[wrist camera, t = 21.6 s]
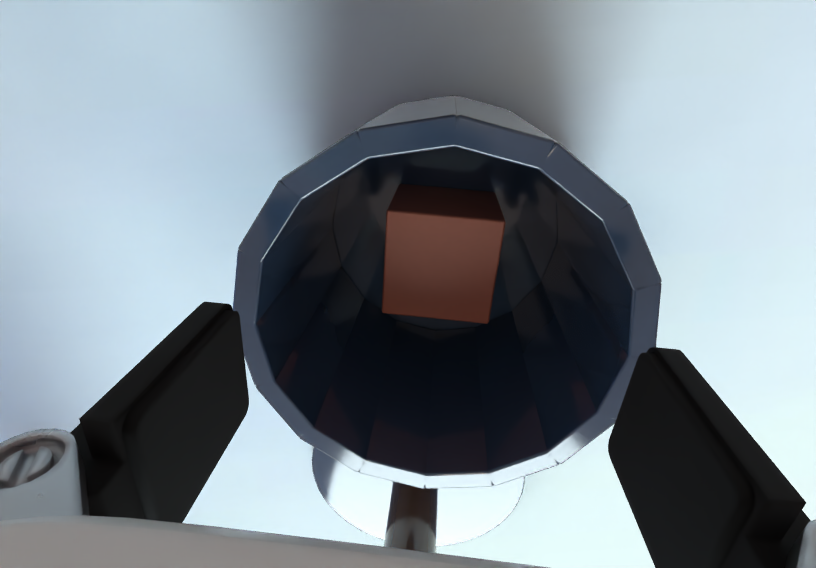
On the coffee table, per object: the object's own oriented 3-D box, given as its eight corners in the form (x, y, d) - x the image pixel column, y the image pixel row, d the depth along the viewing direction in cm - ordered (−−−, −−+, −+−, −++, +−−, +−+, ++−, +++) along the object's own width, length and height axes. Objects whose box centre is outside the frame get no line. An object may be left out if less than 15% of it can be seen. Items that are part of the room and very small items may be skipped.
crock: (273, 184, 21) (147, 265, 12) (500, 37, 17) (547, 4, 9) (402, 367, 24) (375, 527, 16) (609, 274, 21) (717, 412, 12)
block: (393, 270, 21) (381, 313, 18) (399, 182, 20) (386, 209, 16) (482, 279, 21) (488, 324, 17) (495, 191, 19) (506, 220, 16)
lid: (276, 426, 27) (226, 526, 21) (459, 344, 23) (461, 437, 17) (385, 550, 31) (370, 664, 25) (556, 497, 27) (585, 614, 21)
